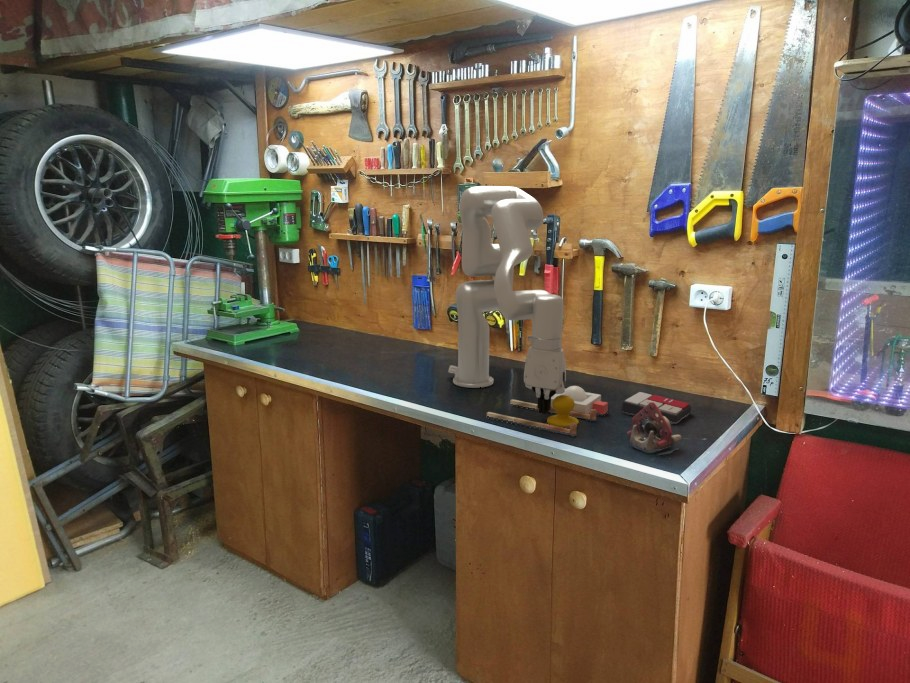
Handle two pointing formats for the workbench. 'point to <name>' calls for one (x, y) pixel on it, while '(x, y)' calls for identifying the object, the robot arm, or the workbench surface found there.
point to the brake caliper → (652, 429)
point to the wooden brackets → (542, 425)
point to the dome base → (588, 404)
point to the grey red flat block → (666, 406)
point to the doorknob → (562, 412)
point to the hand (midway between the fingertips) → (543, 412)
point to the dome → (575, 393)
